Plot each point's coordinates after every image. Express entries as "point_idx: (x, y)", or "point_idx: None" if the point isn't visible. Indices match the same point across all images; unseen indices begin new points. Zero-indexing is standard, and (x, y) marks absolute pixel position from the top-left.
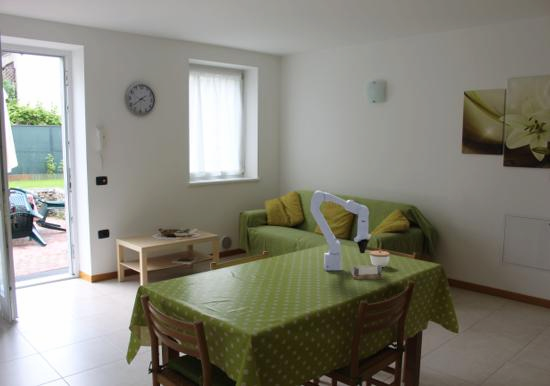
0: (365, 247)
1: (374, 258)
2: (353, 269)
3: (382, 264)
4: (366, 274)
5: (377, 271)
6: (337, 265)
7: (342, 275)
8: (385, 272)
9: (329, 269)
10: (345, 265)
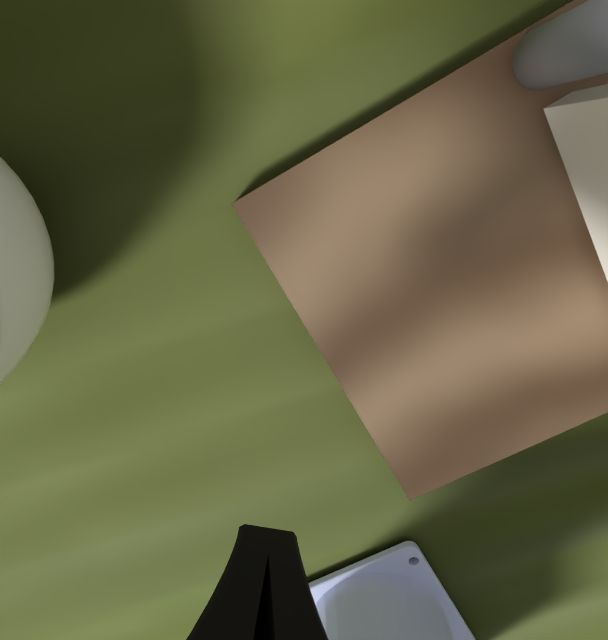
0: (235, 637)
1: (21, 323)
2: (406, 453)
3: (9, 168)
4: (587, 245)
5: (365, 148)
6: (440, 627)
7: (597, 483)
8: (233, 53)
9: (465, 637)
10: (190, 574)
